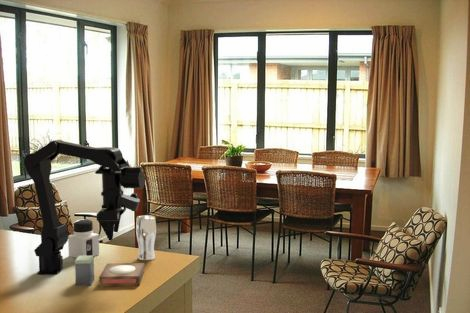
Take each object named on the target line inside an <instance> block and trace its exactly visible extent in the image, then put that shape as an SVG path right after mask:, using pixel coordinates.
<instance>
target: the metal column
mask: <svg viewBox="0 0 470 313" xmlns="http://www.w3.org/2000/svg"><path fill="white" fill-rule="evenodd" d="M94 257H95V256H78V257H77V258H75V260H74V264H75V266H74V268H75V286H76V287H78V286H79V287H81V286H82V287H83V286H85V287H86V286H87V287H89V286H92V284H93V283H94V281H95V264H94V263H95V262H94V260H95V259H94Z"/></svg>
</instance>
